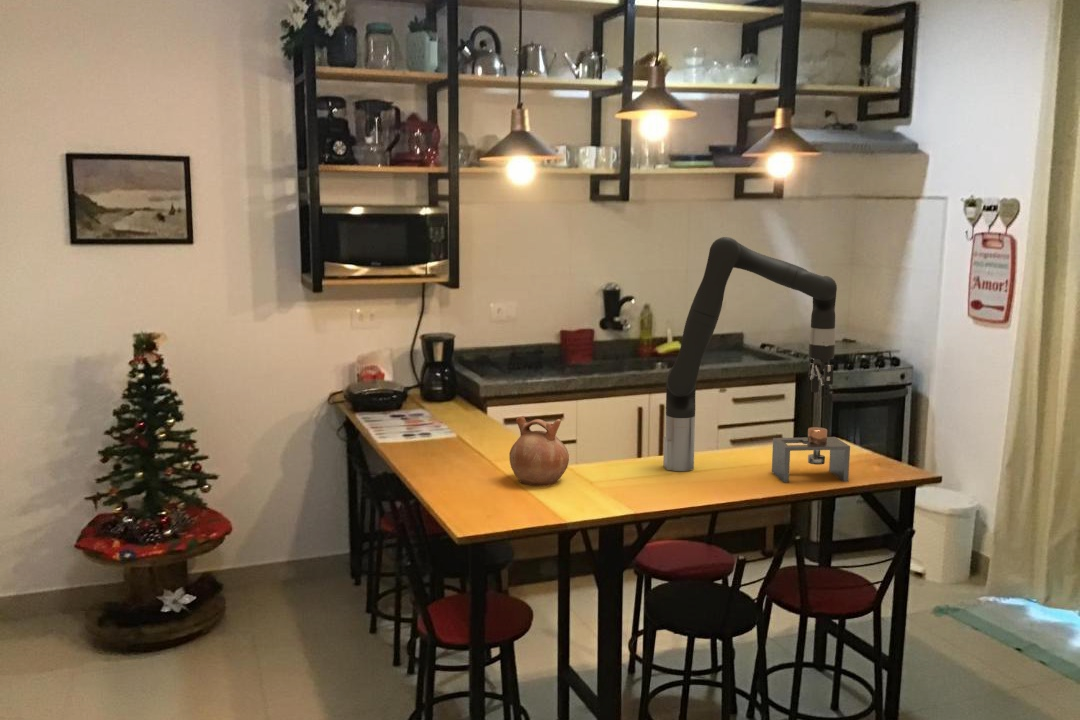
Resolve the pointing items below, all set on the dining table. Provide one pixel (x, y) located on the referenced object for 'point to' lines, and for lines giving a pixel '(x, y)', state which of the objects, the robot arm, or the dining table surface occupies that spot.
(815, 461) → the keyhole peg
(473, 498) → the dining table surface
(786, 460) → the keyhole bridge
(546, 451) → the jug
